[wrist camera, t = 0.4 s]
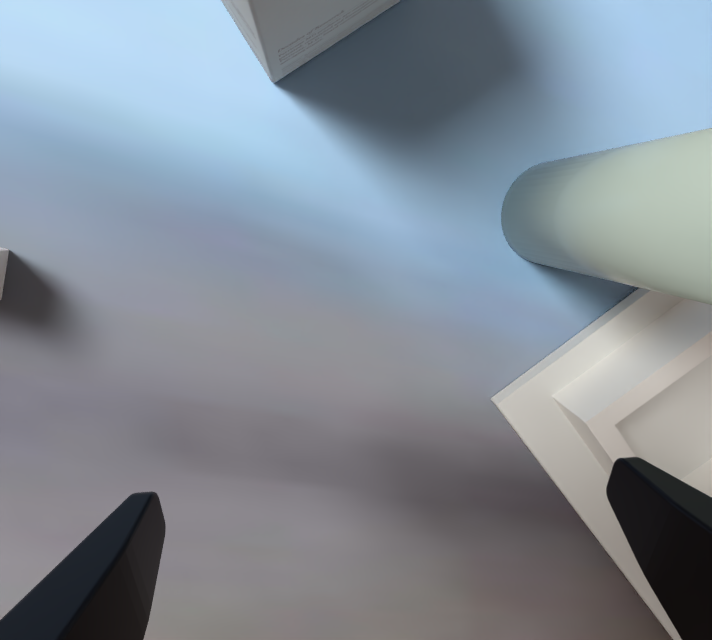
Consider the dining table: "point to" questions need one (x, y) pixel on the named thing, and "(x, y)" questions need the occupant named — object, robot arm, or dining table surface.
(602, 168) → the sage green domed cylinder
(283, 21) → the supplement box
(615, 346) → the dish drying rack
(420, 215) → the dining table surface
